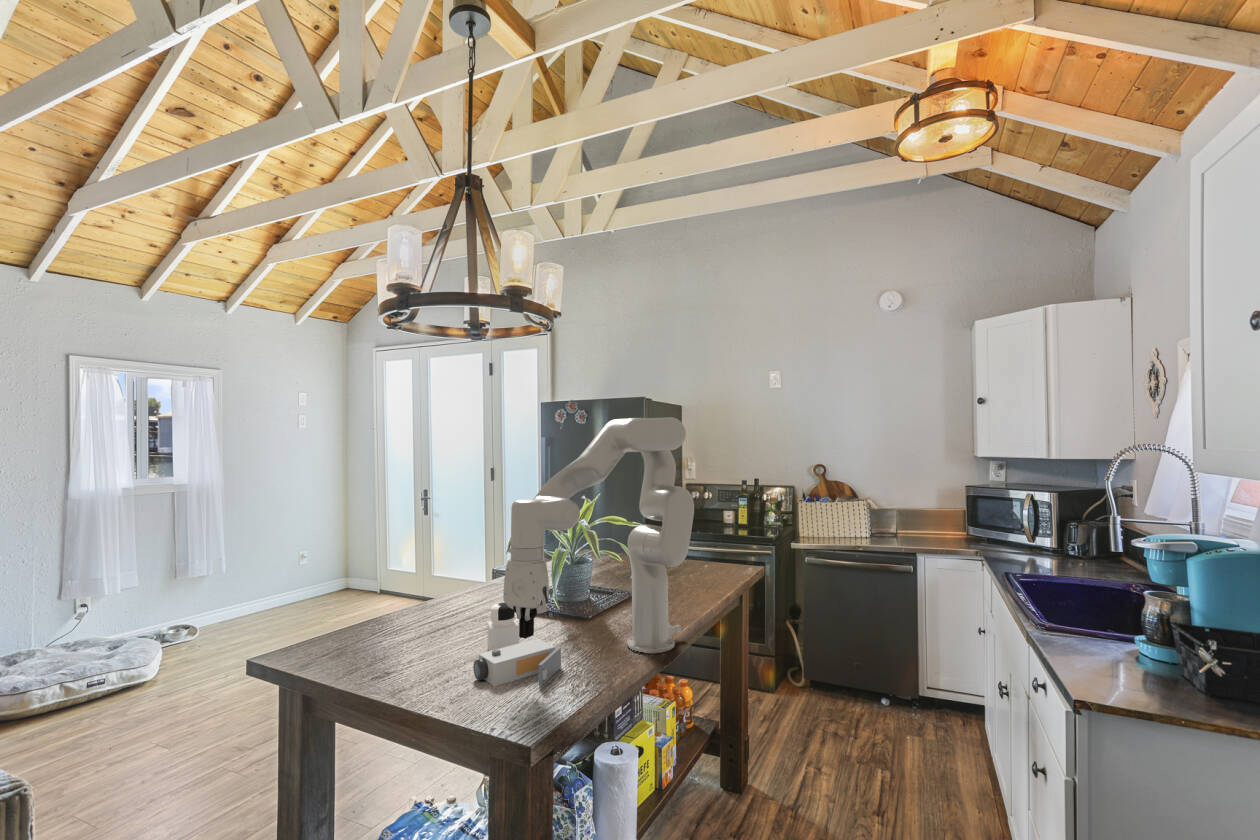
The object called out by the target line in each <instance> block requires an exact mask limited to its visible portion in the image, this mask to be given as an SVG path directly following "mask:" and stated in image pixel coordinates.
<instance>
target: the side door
mask: <svg viewBox="0 0 1260 840" xmlns="http://www.w3.org/2000/svg"><path fill="white" fill-rule="evenodd" d="M561 667H562V647H561V646H558V647H555V650H554V651H553V652H552V653H551V654H550V655H549V656H547V657H546V658H545V659H544V660H543V661H542V662H541V663H540V664H538V673H537V675H538V677H537V678H538V686H539V687H543V685H545V684H546V682H547V681H549V679H551V678H552V677H553V675H555V674H556V673H557V672H558V671H559V670H560V669H561Z"/></svg>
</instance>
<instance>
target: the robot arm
mask: <svg viewBox="0 0 1260 840" xmlns="http://www.w3.org/2000/svg"><path fill="white" fill-rule="evenodd" d="M686 437H687V433H686V427H685V425H684V424H683V423H682V421H680V420H679V419H678V418H676V417H652V418H651V417H650V418H649V417H647V418H646V417H645V418H644V417H629V418H615V419H612V420H610V421H608V422H607V423H606V424H604V426H603V427H602V428H601V430H600V431H599V432H598V433H597V434H596V435H595V436H594V438H593V439H592V440H591V442H590V443H589V444H588V446H587V447H586V448H585V449H584V451H583V452H582V453H581V454H580V455H579V456H578V457H577V458H576V459H575V460H574V461H572V462H570V463H569V464H568V465H566V466H565V467H563V468H562V469H561V470H560V471H558V472H557V473H556V474H555V475H553V476H551V478H550V479H548V481H546V483H545V484H544V485H543V486H542V487H541V489H539V491H538V492H537V494H536V495H535V496H534V498H529V499H528V498H527V499H525V498H523V499H517V500H514V501H513V502H512V504H511V508H510V509H511V510H510V514H511V515H510V547H508V553H509V554H510V558H509V559H508V560H507V564H506V566H505V573H504V579H503V591H502V593H503V594H502V596H503V603H506V604H507V606H508V607H510V608H511V609H514V611H515V613H516V614H515V616H516V618H517V619H518V621H519V622H518V626H519V639H520V638H521V639H527V638H528V639H529V638H530V637H533V636H534V634H535V633H534V632H535V619H536V618H537V616H538V615H539V614H544V613H547V612H548V608H547V606H548V605H547V604H548V603H549V600H550V585H549V583H550V582H549V573H548V572H549V571H548V565H547V564H548V563H547V560H545V531H561V532H562V531H567V530H570V529H573V528H574V527H575V526H576V525H577V524H578V522H579V520H580V515H581V512H580V508H579V506H578V504H577V503H576V502H574V501H573V500H571V499H570V498H572V497H573V496H574V495H575V494H578V493H579V492H581V491H583V490H584V489H588V488H590V487H593V486H595V485H598V484H599V483H602V482H604V481H605V480H606V479H607V478H608V476H609V475H610V473H611V472H612V471H613V469H614V468H615V466H616V465H617V464H618V463H619V461H620V460H621V459H622V458H623V457H624V455H625V454H626V453H640V454H641V455H642V458H643V462H644V471H643V472H644V473H643V479H642V486H641V490H640V498H639V512H640V514H641V515H642V516H643V517H644V518H646V519H649V520H652V521H657V522H662V523H661V526H660V525H654V524H653V525H652V524H641V525H638V526H636V527H634V528H633V529H632V530H631V531H630V533H629V535H628V538H627V551H628V557H629V561H630V570H631V609H632V610H631V614H632V619H631V620H632V621H631V622H632V636H631V637H629V638H628V639H627V640H626V646H628V647H629V648H630V649H629V648H628V647H627V648H628V649H629V650H631V649H632V650H631V651H633V650H635V651H634V652H636V651H639V652H638V653H640V652H644V653H643V654H659V653H665V652H668V651H671V650H672V649H674V648H675V645H676V644H675V639H674V638H673V635H674V634H677V633H681V632H682V626H681V625H680V624H676V625H673V626H672V625H671V624H669V591H668V590H669V589H668V588H669V578H668V572H667V569H666V567H673V568H674V567H677V566H679V565H681V564H682V563H683V562H684V561H685V559H686V557H687V555H688V553H689V549H690V542H691V536H692V529H693V523H694V522H693V521H694V516H695V502H694V498H693V496H692V494H691V493H690V491H689V490H688V489H686V488H684V487H683V486H678V485H675V483H676V482H675V481H676V474H677V465H676V461H675V457H674V456H673V453H672V451H674V450H677V449H678V448H680V447H681V446H682V445H683V443H685V439H686Z"/></svg>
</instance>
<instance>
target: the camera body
mask: <svg viewBox="0 0 1260 840" xmlns="http://www.w3.org/2000/svg"><path fill="white" fill-rule="evenodd" d="M555 649H556V646H555V645H552V644H551V643H549V642H547V641H544V640H542V639H541V638H535V639H531V640H528V641H527V640H526V641H524V642H519V644H515V645H511V646H507V647H504V648H500V649H496V650H492V651H489V650H488V651H485V652H481V653H478V658H477V659H475V660H474V662H473V667H472V668H473V669H472V670H473V674H474V677H475V679H476V680H477V681H481V680H484V681H486V682H487V683H489V684H491V685H492V686H493V687H497V686H501V685H504V684H506V683H511V682H514V681H517V680H520V679H523V678H527V677H530V676H533V675H538V664H540V663H541V662H542V661H543V660H544V659H545V658H546V657H547V656H549V655H550V654H551V653H552V652H553V651H554V650H555Z"/></svg>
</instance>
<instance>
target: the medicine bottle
mask: <svg viewBox="0 0 1260 840" xmlns="http://www.w3.org/2000/svg"><path fill="white" fill-rule="evenodd" d="M515 613H516V612H515V611H514V609H511V608H510V607H508V606H507V604H506V603H505V602H499V603H495V604H494V605H492V606H491V607H490V621H487V623H486V625H487V633H486V634H487V640H486V641H487V650H488V651H492V650H496V649H500V648H504V647H507V646H511V645H515V644H519V643H520V637H519V623H518V622H517V621H516V619H515V618H516V614H515Z"/></svg>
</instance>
